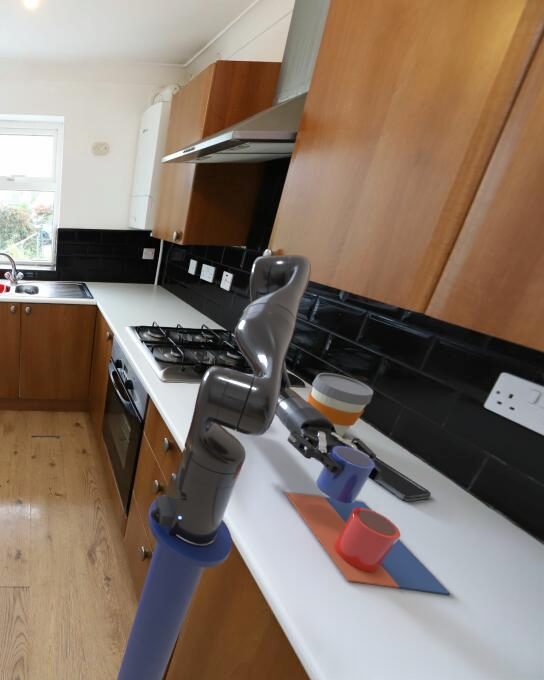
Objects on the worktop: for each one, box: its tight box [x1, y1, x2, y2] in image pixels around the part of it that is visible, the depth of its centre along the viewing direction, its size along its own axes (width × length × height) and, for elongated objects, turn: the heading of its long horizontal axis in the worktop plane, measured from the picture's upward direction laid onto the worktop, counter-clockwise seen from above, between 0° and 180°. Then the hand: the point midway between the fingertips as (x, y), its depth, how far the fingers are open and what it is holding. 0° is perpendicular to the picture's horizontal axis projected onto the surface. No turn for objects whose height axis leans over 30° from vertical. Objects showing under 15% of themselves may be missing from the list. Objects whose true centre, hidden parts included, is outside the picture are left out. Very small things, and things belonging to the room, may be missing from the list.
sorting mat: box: [285, 492, 451, 596], centre depth 68 cm, size 16×19×1 cm
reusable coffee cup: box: [306, 372, 374, 437], centre depth 98 cm, size 13×13×15 cm
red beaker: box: [334, 508, 401, 572], centre depth 62 cm, size 6×6×8 cm
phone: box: [373, 457, 432, 502], centre depth 84 cm, size 8×1×15 cm
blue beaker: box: [315, 446, 375, 503], centre depth 68 cm, size 6×6×8 cm
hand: (358, 473), depth 65 cm, fingers closed on blue beaker, 6 cm apart
